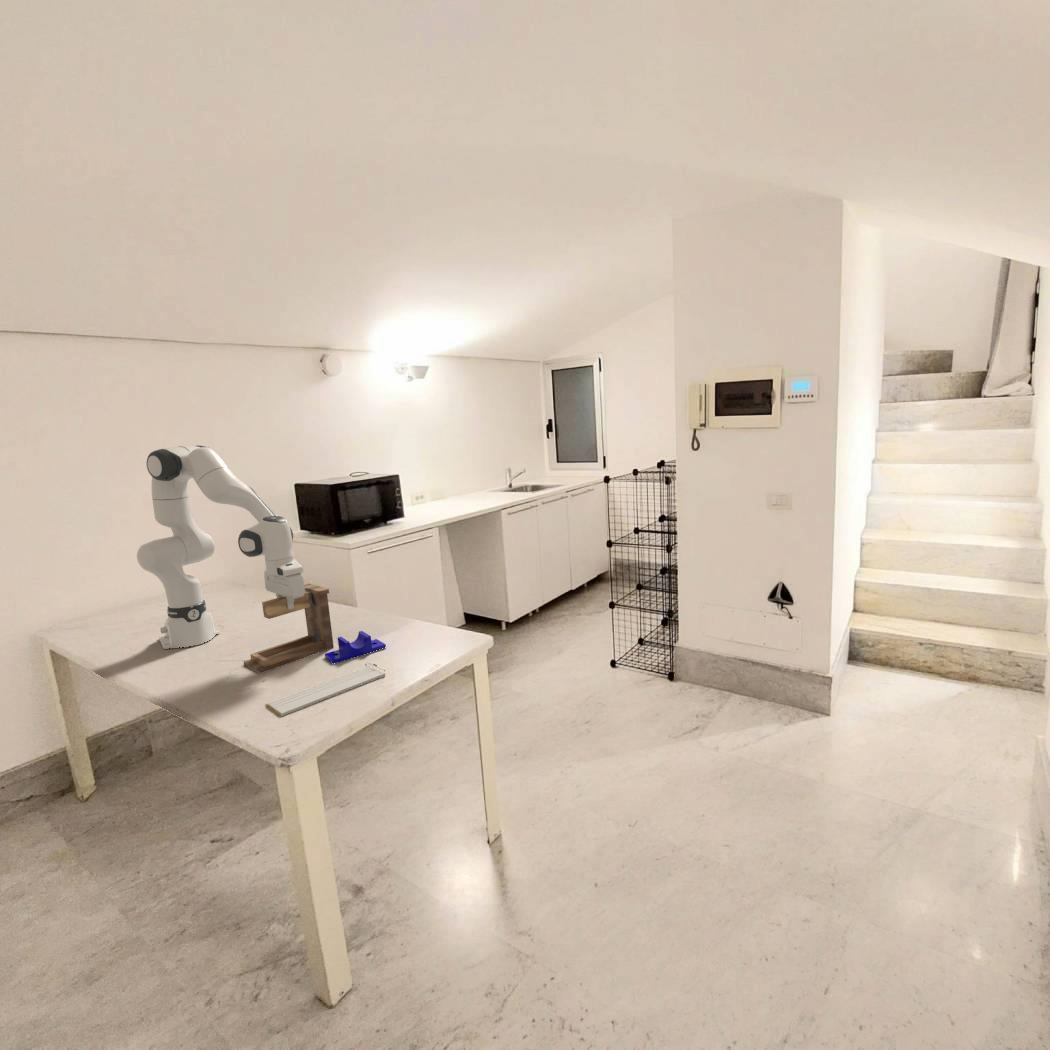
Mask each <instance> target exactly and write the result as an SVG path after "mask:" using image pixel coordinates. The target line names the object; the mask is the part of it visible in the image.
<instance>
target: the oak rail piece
mask: <svg viewBox="0 0 1050 1050" xmlns="http://www.w3.org/2000/svg"><path fill="white" fill-rule="evenodd" d="M261 604H262V612H263V617H264V618H266V619H268V620H271V619H273V618H277V617H281V616H285V615H287V614H291V613H294V612H298V611H301V610H305V608H308V607H313V605H312V597H311V592H309V591H305V593H304V596H303V597H300V598H296V599H294V603H293V604H294V608H293V609H287V606H286V604H287V599H286V596H283V597H279V598H277V597H276V598H272V599H268V600H264V601H262V602H261Z"/></svg>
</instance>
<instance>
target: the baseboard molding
mask: <svg viewBox="0 0 1050 1050" xmlns="http://www.w3.org/2000/svg"><path fill="white" fill-rule="evenodd" d="M368 664H369V665H367V664H365V666H364V667H361V668H359V669H355V670H354V671H351V672H348V673H345V674H342V675H340V676H337V677H333V678H332V679H331V678H330V679H329V680H326V681H323V682H320V683H318V684H315V685H313V686H310V687H307V688H304V689H302V690H299V691H297V692H294V693H290V694H288V695H285V696H283V697H281V698H278V699H275V700H272V701H269V702H267V703H265V705H266V706H267V707H268V706H269V707H268V708H269V709H271V710H272V709H273V712H275V713H277V714H278V715H279V716H280V717H283V716H286V715H288V714H289V715H290V714H291V713H294V712H297V711H299V710H302V709H305V708H307V707H309V705H310V706H312V705H314V703H315V704H317V703H320V702H322V701H321V700H323V701H325V700H327V699H326V698H328V699H329V697H330V698H332V697H331V696H333V697H335V696H337V695H336V694H338V695H339V693H340V694H342V693H341V692H343V693H345V692H344V691H346V690H348V691H350V690H349V689H351V690H353V689H355V688H354V687H356V688H358V687H360V686H359V685H361V684H364V683H366V684H368V683H367V682H369V681H371V682H373V681H372V680H374V679H376V680H378V679H377V678H379V679H381V678H380V677H382V676H384V677H386V670H385V669H383V671H384V672H383V671H381V670H379V667H378V665H377V664H376V663H375V664H374V663H369V662H368ZM372 666H373V667H372ZM374 667H377V668H378V669H377V668H374ZM382 678H383V677H382ZM374 681H375V680H374ZM369 683H370V682H369ZM364 685H365V684H364ZM357 686H358V687H357ZM361 686H362V685H361ZM352 688H353V689H352ZM346 692H347V691H346ZM334 695H335V696H334ZM324 699H325V700H324ZM319 701H320V702H319ZM316 702H317V703H316ZM304 707H305V708H304Z"/></svg>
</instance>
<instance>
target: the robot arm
mask: <svg viewBox="0 0 1050 1050" xmlns="http://www.w3.org/2000/svg"><path fill="white" fill-rule="evenodd" d="M146 469H147V471H148V473H149V475H150V476H151V497H152V498H151V499H152V506H153V507H152V508H153V515H154V519H155V521H156V522H157V523H158V524H159V525H161V526H164V527H166V528H170V530H171V532H172V536H168V537H163V538H158V539H154V540H152V541H149V542H145V544H142V545H140V546H139V548H138V550H137V553H136V559H137V562H138V565H139V566H140V568H142V569H143V570H144V571H146V572H148V573H151V574H153V575H154V576H155V577H157V578H158V579H159V581H160V582H161V583H162V586H163V588H164V591H165V595H166V600H167V605H168V606H167V611H166V612H167V619H166V620H165V622H164V623H163V624H164V626H161V627H160V628H159V629H160V633H161V634H163V635H160V636H159V638H158V640H159V642H160V644H161V647H162V649H163V650H170V649H183V648H182V647H184V648H189V646H191V647H195V646H199V645H201V644H204V642H205V643H207V641H208V642H210V641H211V640H213V639H214V638H215V637H216V636H217V635H216V634H218V633H219V634H220V630H218V629H215V625H214V621H213V617H212V614H211V613H210V612H208V611H207V604H206V600H204V596H203V591H202V583H201V581H200V579H198V578H197V577H195V576H194V575H190V574H186V573H185V571H184V568H183V567H184V566H188V565H191V564H192V565H193V564H197V563H200V562H201V561H204V560H207V559H209V558H211V557H212V556H213V555H214V553H215V549H216V545H215V541H214V538H212V536H211V534H208V533H207V532H205V531H203V530H202V529H201V528H200V527H199V526H198V525H197V523H196V522H195V520H194V518H193V513H192V509H191V502H190V495H189V487H188V483H189V480H190V479H193V480H194V482H195V484H196V485H197V487H198V488H199V490H200V491H201V493H202V494H203V495H204V496H205V497H206V498H207V499H208V500H209V501H212V502H213V503H216V504H220V505H221V504H222V505H230V506H235V507H239V508H242V509H243V510H246V511H248V512H249V513H250V514H251V516H253V518H254V519H255V520H256V521H257V522H258V523H257V524H254V525H253V526H250V527H247V528H245V529H243V530H241V531H240V533H239V535H238V539H237V544H238V547H239V550H240V552H241V553H242V554H243V555H244V556H247V557H249V558H256V557H260V556H264V563H265V570H264V574H263V575H264V576H263V577H264V588H265V589H266V591H267V592H269V593H273V594H275V597H276V598H279V597H283V596H286V599H287V604H286V606H287V609H293V608H294V604H293V603H294V599H296V598H300V597H303V596H304V593H305V589H304V585H305V581H304V580H305V579H304V576H303V574H302V573H303V572H304V568H303V565H301V564H300V563H299V562H298V560H297V559H296V557H295V553H294V551H293V539H294V532H293V529H292V528H291V526H290V523H289V522H288V519H286V518H285V517H283V516H280V515H277V513H275V511H274V510H273V509H272V508H271V507H270V506H269V504H267V503H266V502H265V500H264V499H263V498H262V497H261V496H260V495H259V494H258V493H257V491H255V490H254V489H253V488H252V487H251V486H250V485H248V484H245V483H244V482H243V481H242V480H240V479H239V478H238V477H237V476H236V475H235V473H233V471H232V470H231V469H230V467H229V466H228V465H227V463H226V462H225V461H224V460H223V458H222V457H221V456H220V455H219V454H218V453H217V452H216V451H215V450H214V449H212V448H210V447H207V446H205V445H199V444H198V445H180V446H176V447H170V448H169V447H168V448H160V449H157V450H153V451H152V452H150V453H149V454H148V456H147V458H146ZM219 634H218V635H219ZM215 635H216V636H215ZM214 636H215V637H214ZM213 637H214V638H213ZM212 638H213V639H212ZM209 640H210V641H209ZM194 645H195V646H194ZM179 647H180V648H179ZM169 648H170V649H169Z"/></svg>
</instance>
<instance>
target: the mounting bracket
mask: <svg viewBox="0 0 1050 1050" xmlns="http://www.w3.org/2000/svg"><path fill="white" fill-rule="evenodd" d="M337 645H338V649H336V650H333V651H330V652H325V653H324V658H325V659H326V660H327V659H328V660H329V661H328V662H330V663H331V662H332V663H333V664H332V663H331V664H332V665H334V663H335V664H338V663H341V661H342V662H345V661H348V660H352V659H355V658H358V657H357V656H359V657H361V655H362V656H364V654H365V655H368V654H367V653H369V654H371V653H370V652H372V653H374V652H373V651H375V652H377V651H376V650H379V649H382V648H385V647H386V648H387V646H386V645H387V644H386V643H384V642H382V641H381V640H379V639H377V638H375V639H372V636H371V635H370V634H368V633H366V632H364V631H363V630H361V631H358V635H357V638H355V640H354V641H352V642H350V641H349V640H347V639H345V638H344V637H343V636H337ZM386 648H385V649H386ZM382 650H383V649H382ZM379 651H380V650H379ZM354 657H355V658H354ZM351 658H352V659H351ZM344 660H345V661H344ZM337 662H338V663H337Z"/></svg>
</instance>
